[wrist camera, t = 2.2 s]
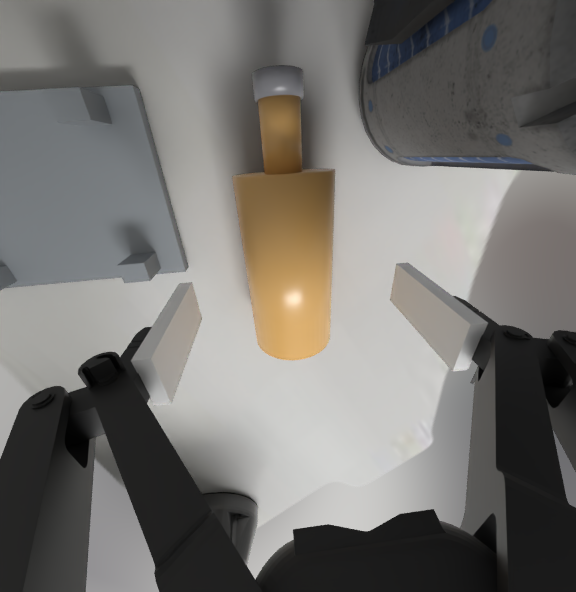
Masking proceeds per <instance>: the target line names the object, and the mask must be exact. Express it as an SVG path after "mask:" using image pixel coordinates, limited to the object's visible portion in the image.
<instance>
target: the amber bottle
mask: <svg viewBox="0 0 576 592" xmlns="http://www.w3.org/2000/svg"><path fill="white" fill-rule="evenodd" d="M252 81H253V91H254V101H255V102H256V103H258V109H259V119H260V130H261V141H262V151H263V162H264V172H256V173H247V174H240V175H235V176H232V179H233V186H234V192H235V199H236V205H237V212H238V218H239V225H240V231H241V238H242V245H243V251H244V258H245V264H246V271H247V277H248V284H249V290H250V297H251V303H252V310H253V317H254V323H255V330H256V336H257V342H258V345H259V347H260V348H261V349H262V350H263V351H264V352H265V353H267V354H268V355H270V356H272V357H275V358H278V359H283V360H300V359H305V358H308V357H311V356H314V355H316V354H317V353H319V352H320V351H322V350H323V349H324V348H325V347H326V345H327V344H328V342H329V339H330V315H331V284H332V254H333V223H334V192H335V169H302V137H301V100H302V99H303V98H304V84H303V70H302V69H301V68H299V67H295V66H285V65H281V66H270V67H265V68H261V69H258V70H256V71H254V72H253V73H252Z"/></svg>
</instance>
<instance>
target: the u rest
mask: <svg viewBox="0 0 576 592" xmlns="http://www.w3.org/2000/svg"><path fill="white" fill-rule="evenodd" d="M187 269H188V264H187V260H186V257H185V253H184V249H183V246H182V242H181V239H180V235H179V231H178V228H177V224H176V221H175V217H174V213H173V210H172V206H171V202H170V199H169V195H168V192H167V188H166V184H165V181H164V177H163V173H162V170H161V166H160V163H159V159H158V155H157V152H156V148H155V144H154V141H153V137H152V134H151V130H150V126H149V123H148V119H147V115H146V112H145V108H144V105H143V101H142V97H141V94H140V90H139V88H137V87H135V86H133V85H123V86H103V87H82V88H80V87H69V88H48V89H40V90H19V91H0V290H2V289H4V288H11V287H22V286H33V285H44V284H55V283H65V282H76V281H87V280H98V279H109V278H120V277H122V279H123V281H124V283H130V282H141V281H150V280H151V279H152V278H153V277H154V276H155V275H156V274H164V273H174V272H185V271H186V270H187Z"/></svg>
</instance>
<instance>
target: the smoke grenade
mask: <svg viewBox="0 0 576 592" xmlns="http://www.w3.org/2000/svg"><path fill="white" fill-rule="evenodd" d="M365 45H366V46H368V48H367V51H366V54H365V57H364V60H363V64H362V70H361V75H360V81H359V105H360V112H361V118H362V122H363V125H364V128H365V131H366V133H367V135H368V137H369V139H370V141H371V142H372V144H373V145H374V147H375V148H376V149H377V150H378V151H379V152H380V153H381V154H382V155H383V156H385V157H386V158H388V159H389V160H391V161H393V162H396V163H398V164H401V165H409V166H449V167H470V168H490V169H511V170H532V171H552V172H557V173H563V174H572V175H576V0H374V8H373V12H372V16H371V20H370V25H369V29H368V33H367V37H366V41H365Z"/></svg>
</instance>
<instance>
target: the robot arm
mask: <svg viewBox="0 0 576 592" xmlns="http://www.w3.org/2000/svg"><path fill="white" fill-rule="evenodd" d="M390 300H391V302H392V303H393V304H394V305H395V306H396V307H397V308H398V310H399V311H400V312H401V313H402V314H403V315H404V316H405V318H406V319H407V320H408V321H409V322H410V323H411V324H412V326H413V327H414V328H415V329H416V330H417V331H418V332H419V334H420V335H421V336H422V337H423V338H424V339H425V340H426V342H427V343H428V344H429V345H430V346H431V347H432V348H433V350H434V351H435V352H436V353H437V354H438V355H439V356H440V358H441V359H442V360H443V361H444V362H445V363H446V364H447V366H448V367H449V368H450V369H451V370H452V371H460V370H468V368H469V366H470V364H471V361H472V360H473V361H474V362H475V363H476V364H477V365H478V367H477V370H476V372H475V374H474V376H473V378H472V381H471V383H472V384H473V383H474V382H475V386H474V401H473V413H472V427H471V440H470V453H469V466H468V479H467V480H468V481H467V492H466V506H465V513H464V518H463V521H462V525H461V527H460V528H458V527H456V526H453V525H451V524H448V523H445V522H442V521H439V519H438V518H437V515H436V513H435V511H434V509H432V510H425V511H418V512H411V513H404V514H399V515H397V516H396V517H394V518H392V519H390V520H389V521H387V522H385V523H383V524H382V525H380V526H378V527H376V528H374V529H373V530H371V531H368V532H365V531H359V530H354V529H349V528H343V527H339V526H334V525H321V526H314V527H307V528H300V529H294V530H293V534H294V540H292V541H290V542H289V543H287V544H285V545H284V546H283V547H281V548H280V549H279V550H278V551H277V552H275V553H274V554H273V556H272V557H271V558H270V559H269V560H268V561H267V563H266V564H265V565H264V567H263V568H262V570H261V571H260V573H259V575H258V576H257V578H256V580H255V579H254V577H253V576H252V574H251V572H250V571H249V569H248V567H247V563H248V559H249V555H250V551H251V547H252V543H253V539H254V535H255V531H256V527H257V514H258V508H257V505H256V504H255V503H254V502H253V501H252V500H251V499H249V498H247V497H244V496H241V495H236V494H229V493H215V494H207V495H202V494H201V492H200V490H199V489H198V487H197V485H196V484H195V482H194V481H193V479H192V477H191V476H190V474H189V472H188V471H187V469H186V467H185V466H184V464H183V462H182V461H181V459H180V457H179V456H178V454H177V452H176V451H175V449H174V448H173V446H172V444H171V443H170V441H169V439H168V438H167V436H166V434H165V433H164V431H163V429H162V428H161V426H160V424H159V423H158V421H157V419H156V418H155V416H154V415H153V413H152V411H151V410H150V408H149V406H148V405H147V402H148V400H149V398H150V399H151V401H152V403H153V405H154V406H157V405H165V404H172V401H173V398H174V395H175V393H176V390H177V387H178V384H179V381H180V379H181V376H182V373H183V370H184V367H185V365H186V362H187V359H188V356H189V353H190V351H191V348H192V345H193V342H194V340H195V337H196V334H197V331H198V328H199V326H200V323H201V320H202V317H201V313H200V309H199V306H198V302H197V299H196V295H195V292H194V288H193V285H192V282H191V283H180V284H179V285H178V286H177V288H176V290H175V291H174V293H173V294H172V296H171V298H170V299H169V301H168V302H167V304H166V306H165V307H164V309H163V310H162V312H161V313H160V315H159V317H158V318H157V320H156V321H155V323H154V325H153V326H152V327H145V328H143V329H142V330H141V331H140V332H138V333H137V334H136V335H135V337H134V338H133V339H132V341H131V343H130V344H129V345H128V347H127V349H126V350H125V351H124V353H123V354H122V355H121V357H119V355H118V354H117V353H115V352H106V353H101V354H99V355H96V356H94V357H92V358H90V359H89V360H87V361H86V362H85V363H83V364H82V365H81V367H80V368H79V370H78V375H79V376H80V378H81V379H82V380H83V382H84V383H85V385H86V386H87V387H85V388H82V389H79V390H76V391H73V392H70V393H68V392H67V391H66V390H65V388H63V387H61V386H53V387H50V388H46V389H44V390H42V391H39V392H38V393H36V394H35V395H33V396H31V397H30V398H29V399H28V400H27V401H26V402H24V403H23V405H22V406H21V408H20V409H19V412H18V415H17V417H16V420H15V422H14V425H13V428H12V430H11V433H10V435H9V438H8V440H7V443H6V446H5V448H4V451H3V453H2V456H1V459H0V592H86V577H87V562H88V545H89V530H90V515H91V501H92V485H93V470H94V455H95V440H96V437H97V436H100V435H102V434H106V437H107V439H108V442H109V444H110V447H111V450H112V452H113V455H114V458H115V460H116V463H117V466H118V468H119V471H120V473H121V476H122V479H123V481H124V484H125V487H126V489H127V492H128V494H129V497H130V500H131V502H132V505H133V508H134V510H135V513H136V515H137V518H138V520H139V523H140V526H141V528H142V531H143V534H144V536H145V539H146V542H147V544H148V547H149V550H150V552H151V555H152V557H153V561H154V563H155V573H154V574H155V578H156V583H157V586H158V589H159V592H576V508H575V507H573V506H571V505H569V503H568V501H567V498H566V494H565V489H564V484H563V479H562V474H561V469H560V465H559V460H558V455H557V449H556V445H555V440H554V435H553V430H554V432H555V434H556V436H557V438H558V440H559V442H560V443H561V445H562V447H563V449H564V451H565V453H566V455H567V457H568V458H569V460H570V462H571V464H572V466H573V468H574V470H575V472H576V332H569V331H561V330H558V331H554V333H553V334H552V336H551V337H550V339H540V338H533V337H532V336H531V335H530V334H529V333H527V332H525V331H524V330H522V329H519V328H516V327H513V326H506V325H502V326H500V325H498V324H497V323H496V322H494V321H493V320H491V319H490V318H488V317H487V316H486V315H485V314H483V313H482V312H479V310H478V309H476V308H475V307H473V306H472V305H471V304H469V303H468V302H467V301H465V300H463V299H461V298H458V297H456V296H452V295H450V294H449V293H448V292H446V291H445V290H444V289H442V288H441V287H440V286H438V285H437V284H436V283H434V282H433V281H432V280H430V279H429V278H428V277H426V276H425V275H424V274H422V273H421V272H420V271H418V270H417V269H416V268H414V267H413V266H412V265H410V264H409V263H399V264H396V269H395V275H394V280H393V286H392V292H391V297H390ZM552 428H553V430H552Z"/></svg>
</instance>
